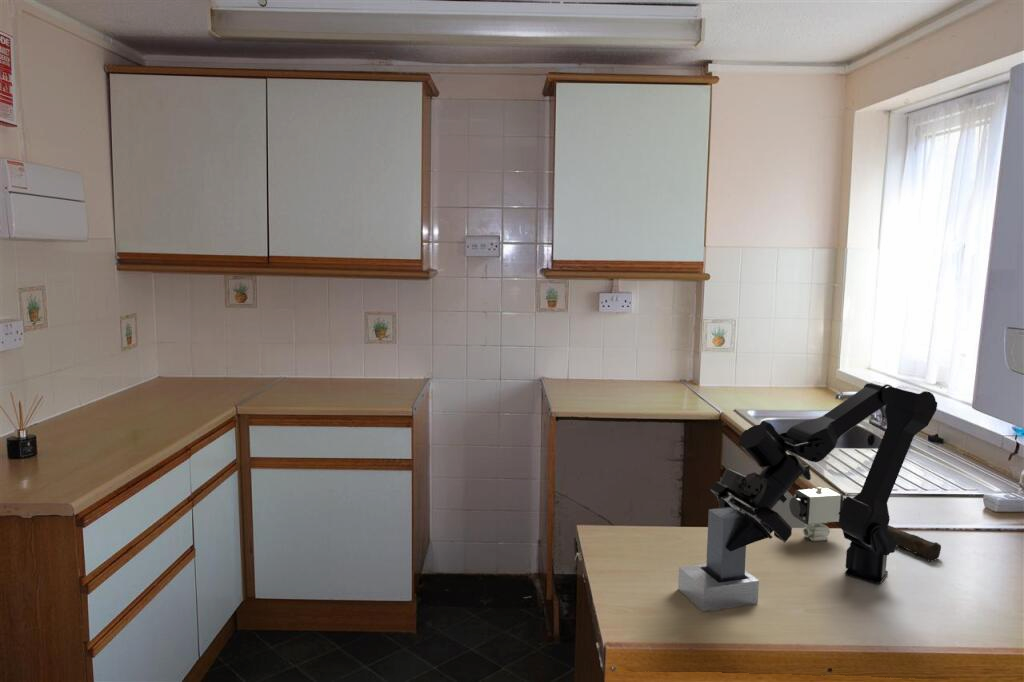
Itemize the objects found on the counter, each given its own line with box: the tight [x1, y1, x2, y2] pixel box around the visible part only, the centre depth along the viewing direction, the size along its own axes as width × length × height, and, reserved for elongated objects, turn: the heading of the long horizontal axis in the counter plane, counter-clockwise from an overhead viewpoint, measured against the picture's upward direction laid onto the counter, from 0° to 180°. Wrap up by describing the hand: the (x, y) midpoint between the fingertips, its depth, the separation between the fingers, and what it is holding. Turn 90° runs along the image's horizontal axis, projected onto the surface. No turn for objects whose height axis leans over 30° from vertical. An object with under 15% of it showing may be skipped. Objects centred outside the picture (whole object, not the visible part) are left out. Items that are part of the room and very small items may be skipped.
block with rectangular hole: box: [677, 563, 760, 613], centre depth 134 cm, size 12×9×4 cm
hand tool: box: [887, 524, 942, 562], centre depth 159 cm, size 19×4×5 cm, turn 24°
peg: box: [705, 507, 747, 583], centre depth 134 cm, size 5×5×12 cm
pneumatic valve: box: [788, 486, 846, 543], centre depth 161 cm, size 6×12×12 cm, turn 101°
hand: (720, 543), depth 133 cm, fingers closed on peg, 5 cm apart
